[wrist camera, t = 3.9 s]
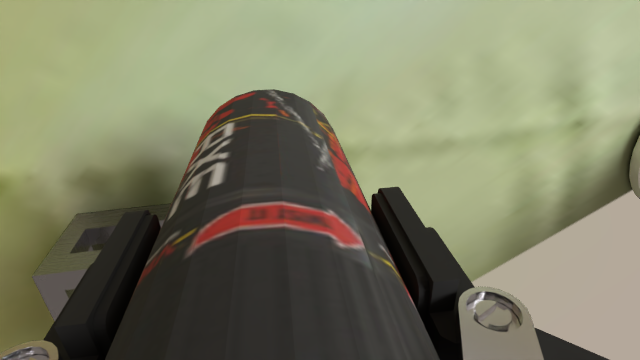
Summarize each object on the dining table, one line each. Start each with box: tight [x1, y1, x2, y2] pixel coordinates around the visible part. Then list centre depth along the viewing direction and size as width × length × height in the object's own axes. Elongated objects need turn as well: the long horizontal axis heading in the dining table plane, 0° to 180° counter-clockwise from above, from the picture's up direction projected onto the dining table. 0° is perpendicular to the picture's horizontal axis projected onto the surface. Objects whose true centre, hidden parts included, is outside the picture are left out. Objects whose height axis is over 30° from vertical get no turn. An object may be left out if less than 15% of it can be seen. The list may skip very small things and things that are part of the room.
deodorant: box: [105, 90, 440, 360], centre depth 10 cm, size 6×6×15 cm
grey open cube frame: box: [32, 204, 171, 321], centre depth 25 cm, size 11×11×7 cm
